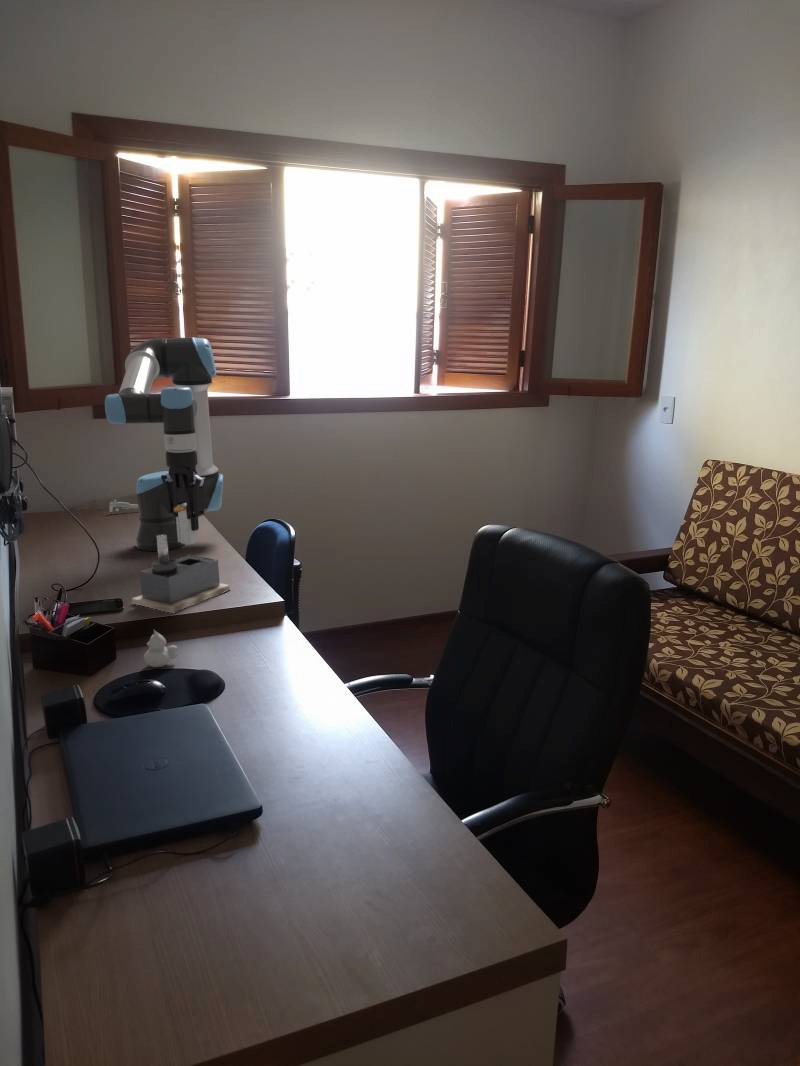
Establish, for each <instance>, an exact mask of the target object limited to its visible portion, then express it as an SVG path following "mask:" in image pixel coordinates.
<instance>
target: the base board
mask: <svg viewBox="0 0 800 1066" xmlns="http://www.w3.org/2000/svg"><path fill="white" fill-rule="evenodd" d="M230 589H231V587H230V584H227V583H226V584H225V583H221V582H220V586H217V587H215V588H212V589H210V590H207V591H204V592H202V593H199V594H197V595H194V596H192V597H189V598H187V599H184V600H181V601H179V602H176V603H174V604H171V605H170V604H166V603H161V602H157V601H153V600H148V599H144V598H142V594H141V595H137V596H136V597H132V598H131V603H132V605H134V604H137V605H136V606H138V605H142V606H146V607H150V608H154V609H153V610H155V609H158V610H157V611H159V610H162V611H161V612H163V611H167V612H171V613H173V612H176V611H178V612H180V611H179V610H181V609H183V608H186V607H188V606H190V607H192V606H191V605H193V604H195V605H197V604H196V603H198V602H200V603H202V602H201V601H203V600H205V601H207V600H206V599H208V598H210V599H212V598H211V597H213V596H215V597H216V595H218V594H220V593H222V592H224V591H226V590H230ZM222 594H223V593H222ZM220 595H221V594H220ZM218 596H219V595H218ZM213 598H214V597H213ZM208 600H209V599H208ZM203 602H204V601H203ZM198 604H199V603H198ZM142 606H141V607H142ZM193 606H194V605H193ZM146 607H145V608H146ZM150 608H149V609H150ZM188 608H189V607H188ZM186 609H187V608H186ZM183 610H184V609H183ZM181 611H182V610H181ZM167 612H166V613H167ZM171 613H170V614H171ZM176 613H177V612H176ZM173 614H174V613H173Z"/></svg>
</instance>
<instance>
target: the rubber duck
mask: <svg viewBox="0 0 800 1066" xmlns="http://www.w3.org/2000/svg"><path fill="white" fill-rule="evenodd" d="M146 645H147V646H148V649H147V651H146V652H145V653H144V654H143V660H144V662H145V663H146V664H147V665H149V666H150V667H152V668H163V667H165V666H166V665H167V664H168V663H170V661H171V660H173V659H177V658H178V653H177V652H178V646H177V645H174V644H172V645H168V646H166V645H167V640H166V637H164V635H162V634H161V633H159V632H158V631H156V630H155V629H153V633H152V635H151V636H150V638H149V641H148V642H146Z"/></svg>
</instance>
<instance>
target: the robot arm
mask: <svg viewBox="0 0 800 1066" xmlns="http://www.w3.org/2000/svg"><path fill="white" fill-rule="evenodd" d="M215 363H216V362H215V358H214V352H213V348H212V344H211V343H210V341H209V340H208V339H207V338H204V337H203V338H202V337H192V336H191V337H168V338H167V337H156V338H151V339H148V340H146V341H144V342H141V343H140V344H138V345H136V346H135V347H134V348H132V350H130V352H129V353H128V355H127V357H126V358H125V361H124V368H125V373H124V377H123V380H122V382H121V385H120V388H119V391H118V393H113V394H107V395H106V396H105V399H104V410H105V416H106V420H107V421H108V423H110V424H111V425H112V424H113V425H123V426H124V425H134V424H162V425H163V436H164V437H163V438H164V448H165V450H166V452H165V463H166V466H167V467H168V468H169V469H168V470H163V471H156V472H153V473H149V474H145V475H142V476H140V477H138V479H137V480H136V484H135V485H136V491H135V493H136V495H137V497H136V498H137V499H136V500H137V505H138V517H139V519H138V520H139V523H138V524H139V525H138V530H137V534H136V535H137V536H136V538H135V547H137V548H136V549H138V550H141V551H144V552H145V551H148V552H158V546H157V535H161V534H165V535H167V544H168V551H169V550H174V549H178V548H180V547H183V546H184V545H185V544H183V543H181V540H180V529H179V518H178V512H177V513H176V512H175V511H174V507H177V505H179V504H183V503H186V504H187V509H188V514H189V517H187V530H188V543H189V544H188V545H193V544H195V542H196V543H198V542H199V531H198V530H200V529H199V528H200V525H199V518H200V517H201V516H204V515H205V513H207V512H213V511H219V510H220V509H221V507H222V504H223V503H222V501H223V490H224V489H223V488H224V475H223V474H222V473H220V472H219V468H218V467H217V466H216V465H215V464H214V462H213V461H214V459H213V448H212V447H213V446H212V434H211V433H212V432H211V420H210V407H209V395H208V394H209V393H208V389H209V387H210V386H211V385H212V383H213V380H212V379H214V378H216V377H217V370H216V364H215ZM160 378H161V379H162V378H163V379H171V380H172V385H173V386H168V387H167V386H166V387H162V389H161V390H160V392H158V393H157V392H156V393H155V392H154V393H151V390H152V388H153V387H152V386H153V382H154V380H156V379H160ZM193 512H194V513H193Z"/></svg>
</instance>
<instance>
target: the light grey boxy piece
mask: <svg viewBox="0 0 800 1066" xmlns="http://www.w3.org/2000/svg"><path fill="white" fill-rule="evenodd" d="M174 511H175V512H176V513H177V512H178V518H179V529H180V540H181V543H183V544H184V545H190V544H189V543H188V530H187V517H189V514H188V509H187V504H186V503H183V504H179V505H177V507H174ZM193 513H194V512H193ZM195 543H197V542H195ZM195 543H194V544H195Z"/></svg>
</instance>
